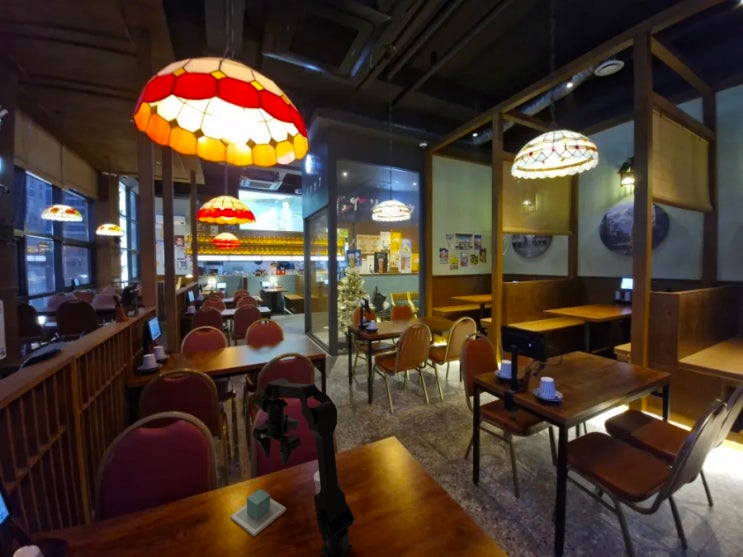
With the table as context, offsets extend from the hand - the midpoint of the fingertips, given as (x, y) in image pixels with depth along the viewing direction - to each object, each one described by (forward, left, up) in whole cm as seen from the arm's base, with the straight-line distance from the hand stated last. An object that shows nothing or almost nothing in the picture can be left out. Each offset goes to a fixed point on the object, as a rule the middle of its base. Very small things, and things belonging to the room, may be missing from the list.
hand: (276, 461), depth 108 cm
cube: (-2, +9, -11) cm, 14 cm away
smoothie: (-16, -6, -12) cm, 21 cm away
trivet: (-2, +9, -12) cm, 15 cm away
